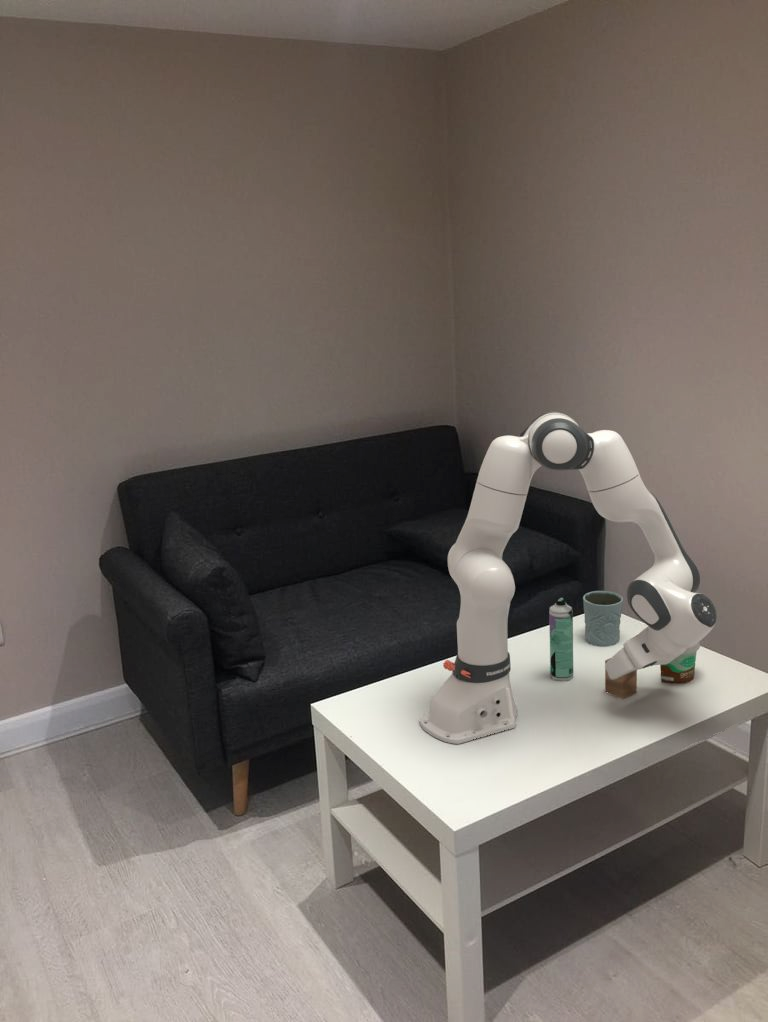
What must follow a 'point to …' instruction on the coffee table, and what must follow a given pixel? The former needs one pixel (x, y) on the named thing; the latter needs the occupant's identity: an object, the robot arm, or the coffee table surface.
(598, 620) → the plant pot
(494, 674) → the robot arm
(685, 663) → the ice cream tub
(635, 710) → the coffee table surface
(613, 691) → the walnut block
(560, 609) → the spray can
